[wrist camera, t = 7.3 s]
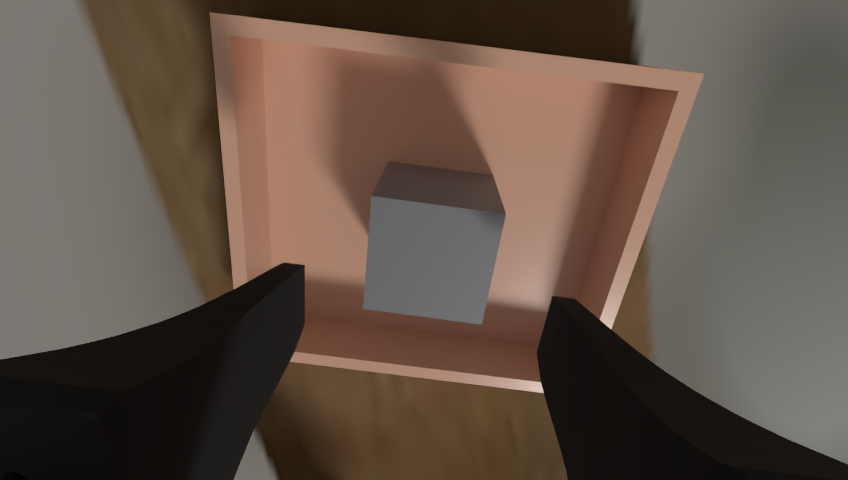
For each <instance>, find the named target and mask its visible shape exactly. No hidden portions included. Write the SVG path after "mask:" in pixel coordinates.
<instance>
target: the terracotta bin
mask: <svg viewBox="0 0 848 480" xmlns="http://www.w3.org/2000/svg"><path fill="white" fill-rule="evenodd" d="M209 13H210V24H211V36H212V47H213V59H214V70H215V81H216V93H217V104H218V116H219V127H220V139H221V150H222V161H223V173H224V184H225V196H226V207H227V219H228V230H229V241H230V253H231V264H232V276H233V287H234V289H236V288H237V287H239V286H241V285H243V284H245V283H247V282H248V281H250V280H252V279H254V278H256V277H257V276H259V275H261V274H263V273H265V272H266V271H268V270H270V269H272V268H274V267H275V266H277V265H279V264H282V263H292V264H300V265H305V325H304V328H303V330H302V333H301V336H300V339H299V342H298V344H297V347H296V349H295V352H294V354H293V356H292V358H291V360H290V362H298V363H306V364H314V365H322V366H330V367H338V368H346V369H354V370H362V371H371V372H379V373H387V374H395V375H403V376H411V377H419V378H427V379H435V380H443V381H451V382H459V383H468V384H476V385H484V386H492V387H500V388H508V389H516V390H524V391H532V392H540V393H544V392H543V388H542V384H541V379H540V373H539V366H538V359H537V349H538V346H539V342H540V338H541V335H542V331H543V328H544V324H545V321H546V317H547V313H548V310H549V306H550V303H551V299H552V296H559V297H567V298H574V299H575V300H577V301H578V302H579V303H581V304H582V305H583V306H584V307H585V308H587V309H588V310H589V311H590V312H591V313H592V314H594V315H595V316H596V317H597V318H598V319H599V320H601V321H602V322H603V323H604V324H605V325H606V326H608V327H609V328H610V329H611V328H612V326H613V323H614V320H615V317H616V315H617V312H618V309H619V306H620V304H621V301H622V298H623V295H624V293H625V290H626V287H627V284H628V282H629V279H630V276H631V273H632V271H633V268H634V265H635V262H636V260H637V257H638V254H639V252H640V249H641V246H642V243H643V241H644V238H645V235H646V232H647V230H648V227H649V224H650V221H651V219H652V216H653V213H654V210H655V208H656V205H657V202H658V199H659V197H660V194H661V191H662V188H663V185H664V183H665V180H666V177H667V175H668V172H669V169H670V166H671V164H672V161H673V158H674V155H675V153H676V150H677V147H678V144H679V141H680V139H681V136H682V133H683V131H684V128H685V125H686V122H687V120H688V117H689V114H690V112H691V109H692V106H693V103H694V100H695V98H696V95H697V92H698V89H699V87H700V84H701V81H702V78H703V76H704V74H701V73H693V72H686V71H679V70H671V69H664V68H655V67H648V66H640V65H632V64H624V63H616V62H608V61H600V60H592V59H584V58H576V57H568V56H560V55H552V54H544V53H536V52H528V51H520V50H512V49H504V48H496V47H488V46H480V45H472V44H464V43H456V42H448V41H440V40H432V39H424V38H416V37H408V36H400V35H392V34H384V33H376V32H368V31H360V30H352V29H344V28H336V27H328V26H320V25H312V24H304V23H296V22H288V21H280V20H272V19H264V18H256V17H247V16H238V15H230V14H221V13H212V12H209ZM388 161H390V162H398V163H405V164H413V165H420V166H428V167H435V168H443V169H450V170H458V171H465V172H473V173H480V174H487V175H493V176H494V179H495V182H496V185H497V188H498V191H499V194H500V197H501V200H502V203H503V206H504V209H505V212H506V216H505V221H504V226H503V230H502V235H501V239H500V244H499V248H498V253H497V258H496V262H495V267H494V271H493V276H492V280H491V285H490V289H489V294H488V299H487V303H486V308H485V312H484V317H483V321H482V325H481V324H473V323H466V322H458V321H451V320H443V319H436V318H428V317H420V316H413V315H405V314H398V313H390V312H383V311H375V310H367V309H363V301H364V288H365V274H366V261H367V248H368V234H369V221H370V207H371V196H372V194H373V192H374V190H375V188H376V186H377V183H378V181H379V179H380V177H381V175H382V173H383V171H384V169H385V167H386V165H387V163H388Z"/></svg>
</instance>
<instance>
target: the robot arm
mask: <svg viewBox="0 0 848 480" xmlns="http://www.w3.org/2000/svg"><path fill="white" fill-rule="evenodd" d="M304 325H305V265H300V264H292V263H282V264H279V265H277V266H275V267H274V268H272V269H270V270H268V271H266V272H265V273H263V274H261V275H259V276H257V277H256V278H254V279H252V280H250V281H248V282H247V283H245V284H243V285H241V286H239V287H237V288H236V289H234V290H232V291H230V292H228V293H226V294H224V295H222V296H220V297H218V298H216V299H214V300H212V301H209V302H207V303H205V304H203V305H201V306H199V307H197V308H195V309H192V310H190V311H188V312H185V313H183V314H180V315H178V316H175V317H173V318H170V319H167V320H164V321H162V322H159V323H156V324H153V325H150V326H147V327H143V328H140V329H137V330H134V331H130V332H127V333H124V334H121V335H117V336H114V337H110V338H106V339H103V340H98V341H95V342H90V343H86V344H81V345H77V346H73V347H68V348H64V349H59V350H54V351H48V352H42V353H36V354H31V355H25V356H19V357H14V358H8V359H1V360H0V480H233V479H234V476H235V474H236V472H237V469H238V466H239V464H240V461H241V459H242V456H243V454H244V452H245V449H246V447H247V444H248V442H249V440H250V437H251V435H252V432H253V430H254V428H255V426H256V424H257V422H258V420H259V418H260V416H261V414H262V412H263V410H264V408H265V406H266V405H267V403H268V401H269V399H270V397H271V395H272V394H273V392H274V390H275V388H276V386H277V384H278V382H279V381H280V379H281V377H282V375H283V373H284V371H285V369H286V367H287V366H288V364H289V362H290V360H291V358H292V356H293V354H294V352H295V349H296V347H297V344H298V342H299V339H300V336H301V333H302V330H303V328H304ZM537 359H538V366H539V373H540V379H541V384H542V388H543V392H544V395H545V398H546V402H547V405H548V409H549V412H550V415H551V419H552V422H553V425H554V429H555V432H556V435H557V439H558V442H559V445H560V449H561V452H562V456H563V460H564V464H565V468H566V472H567V477H568V480H848V465H847V464H845V463H843V462H840V461H838V460H835V459H833V458H830V457H828V456H826V455H824V454H821V453H819V452H816V451H814V450H812V449H809V448H807V447H804V446H802V445H799V444H797V443H795V442H792V441H790V440H788V439H786V438H784V437H781V436H779V435H777V434H775V433H773V432H771V431H769V430H767V429H765V428H763V427H760V426H758V425H756V424H754V423H752V422H750V421H748V420H746V419H744V418H742V417H741V416H739V415H737V414H735V413H733V412H731V411H729V410H727V409H725V408H724V407H722V406H720V405H718V404H717V403H715V402H713V401H711V400H710V399H708V398H706V397H704V396H703V395H701V394H699V393H697V392H696V391H694V390H692V389H691V388H689V387H688V386H686V385H685V384H683V383H682V382H680V381H679V380H677V379H676V378H674V377H672V376H671V375H669V374H668V373H666V372H665V371H664V370H662V369H661V368H659V367H658V366H656V365H655V364H654V363H652V362H651V361H650V360H648V359H647V358H646V357H644V356H643V355H642V354H641V353H639V352H638V351H637V350H635V349H634V348H633V347H632V346H630V345H629V344H628V343H627V342H625V341H624V340H623V339H622V338H620V337H619V336H618V335H617V334H616V333H615V332H613V331H612V330H611V329H610V328H609V327H608V326H606V325H605V324H604V323H603V322H602V321H601V320H599V319H598V318H597V317H596V316H595V315H594V314H592V313H591V312H590V311H589V310H588V309H587V308H585V307H584V306H583V305H582V304H581V303H579V302H578V301H577V300H575V299H574V298H567V297H559V296H552V299H551V303H550V306H549V310H548V313H547V317H546V321H545V324H544V328H543V331H542V335H541V338H540V342H539V346H538V349H537Z"/></svg>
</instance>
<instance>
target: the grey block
mask: <svg viewBox="0 0 848 480" xmlns="http://www.w3.org/2000/svg"><path fill="white" fill-rule="evenodd" d="M505 216H506V212H505V209H504V206H503V203H502V200H501V197H500V194H499V191H498V188H497V185H496V182H495V179H494V176H493V175H487V174H480V173H473V172H465V171H458V170H450V169H443V168H435V167H428V166H420V165H413V164H405V163H398V162H390V161H388V163H387V165H386V167H385V169H384V171H383V173H382V175H381V177H380V179H379V181H378V183H377V186H376V188H375V190H374V192H373V194H372V196H371V207H370V221H369V234H368V248H367V261H366V274H365V288H364V301H363V309H367V310H375V311H383V312H390V313H398V314H405V315H413V316H420V317H428V318H436V319H443V320H451V321H458V322H466V323H473V324H481V325H482V321H483V317H484V312H485V308H486V303H487V299H488V294H489V289H490V285H491V280H492V276H493V271H494V267H495V262H496V258H497V253H498V248H499V244H500V239H501V235H502V230H503V226H504V221H505Z"/></svg>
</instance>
